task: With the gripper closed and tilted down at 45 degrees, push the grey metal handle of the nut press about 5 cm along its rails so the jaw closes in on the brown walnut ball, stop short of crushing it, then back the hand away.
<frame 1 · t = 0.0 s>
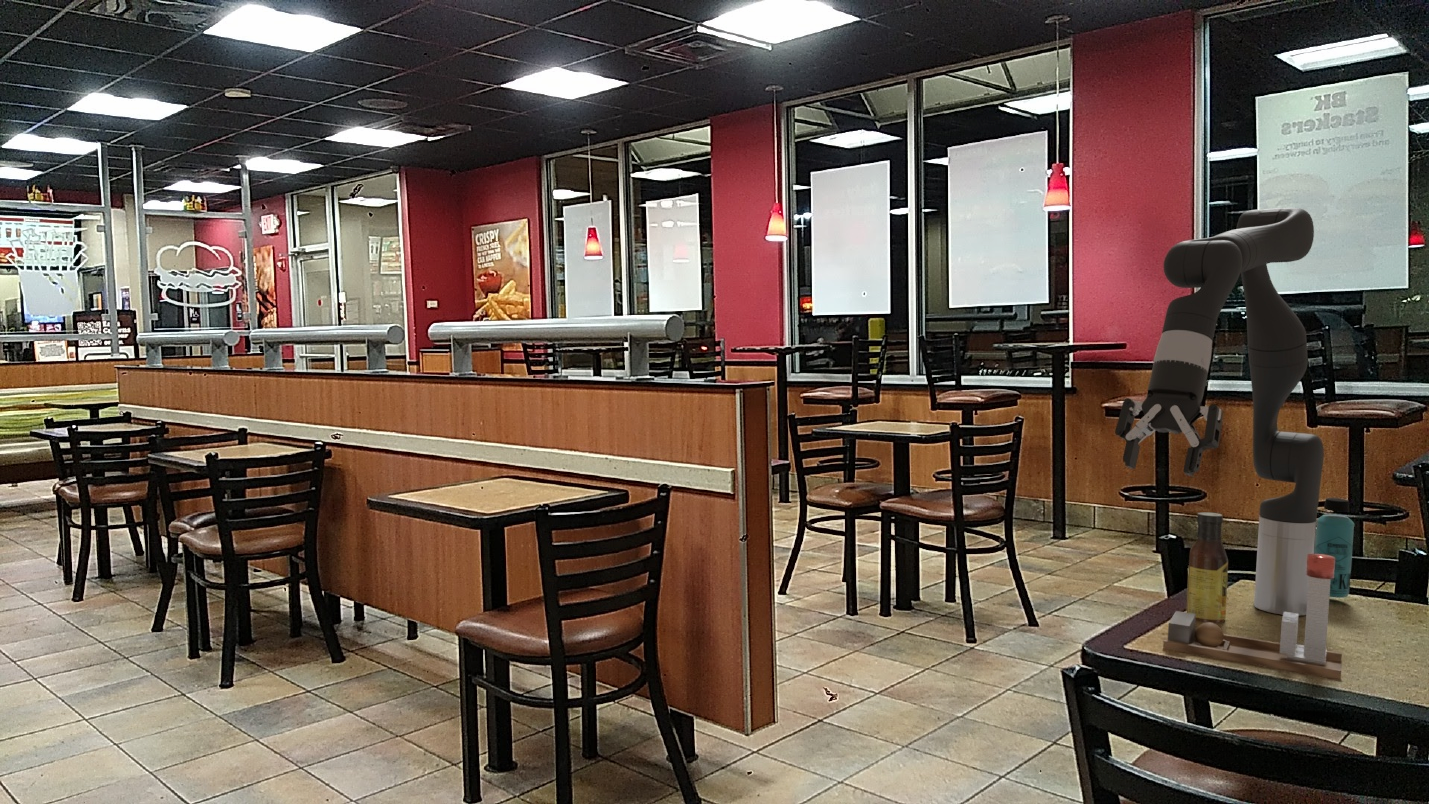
hand: (1158, 470, 147), 31 cm above the table, tool tilted 20°, fingers open, 8 cm apart
sauce bottle: (1204, 626, 178), on the table
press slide: (1307, 608, 153), point 10 cm above the table, slide at 0.0 cm
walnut: (1208, 647, 161), point 1 cm above the table, touching nut press
beverage bottle: (1329, 601, 195), on the table
nut press: (1250, 663, 158), on the table
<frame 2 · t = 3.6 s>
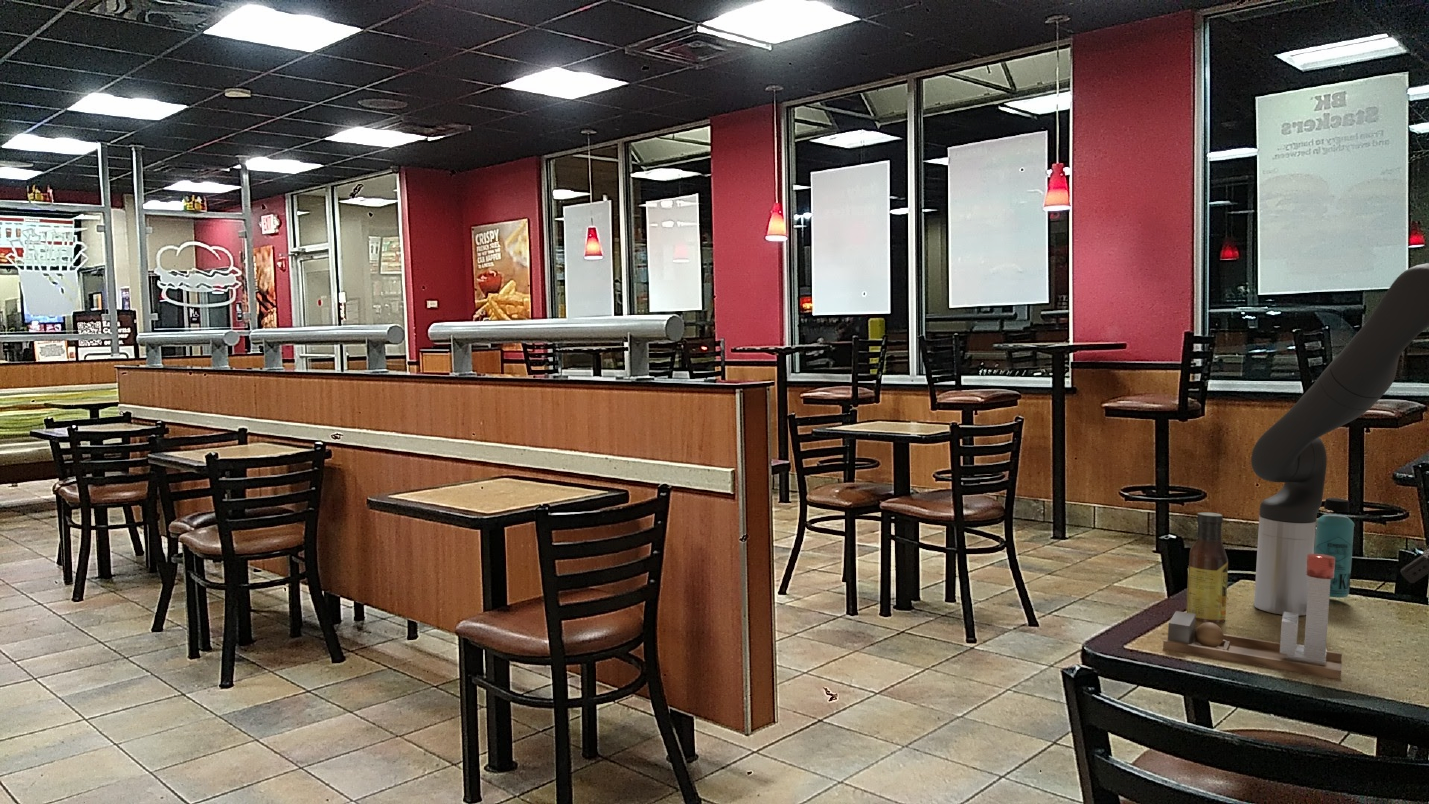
hand: (1405, 577, 146), 17 cm above the table, tool tilted 45°, fingers closed
nothing on the table moved.
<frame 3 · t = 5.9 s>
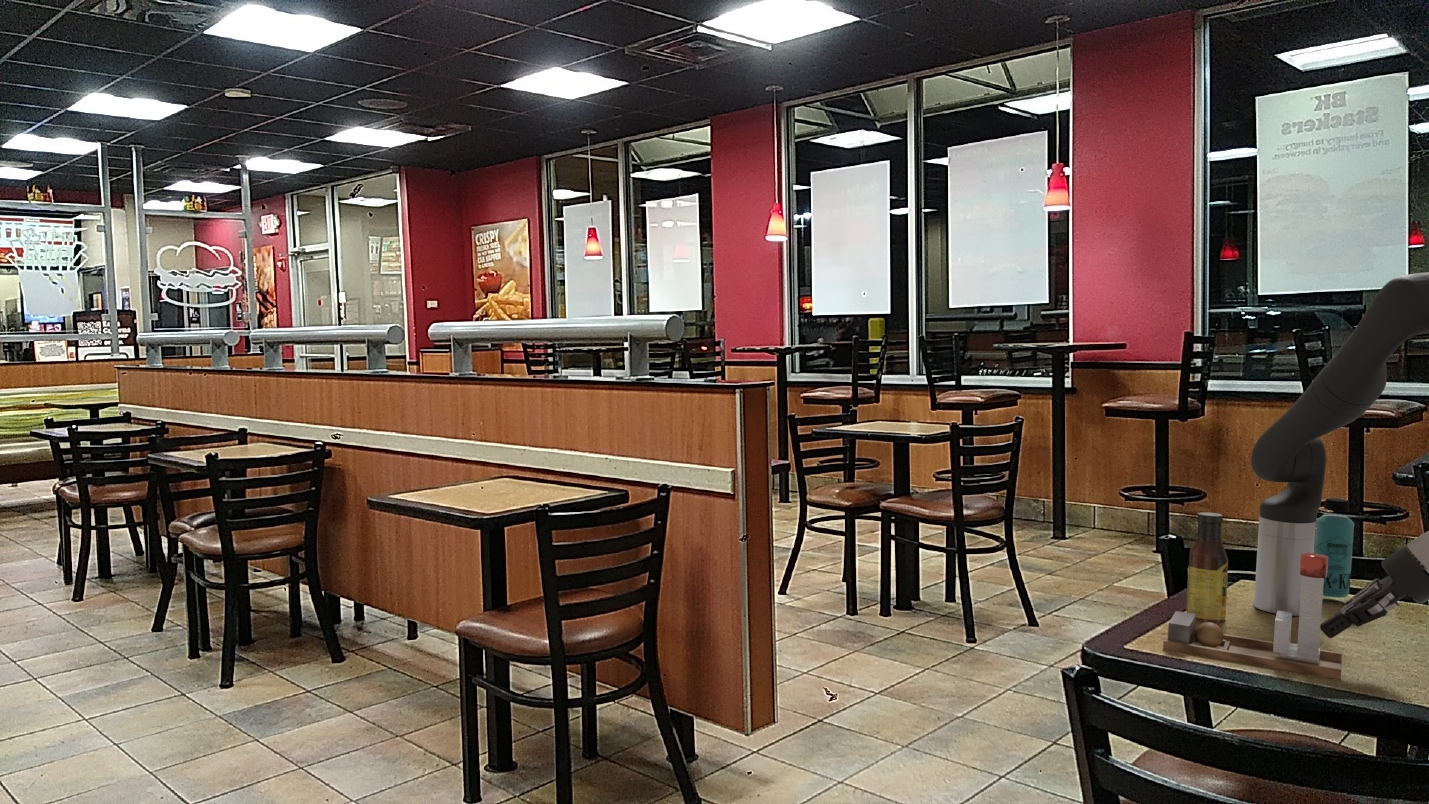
hand: (1324, 632, 152), 7 cm above the table, tool tilted 45°, fingers closed
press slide: (1300, 607, 154), point 10 cm above the table, slide at 0.9 cm, touching gripper
everything else where it was.
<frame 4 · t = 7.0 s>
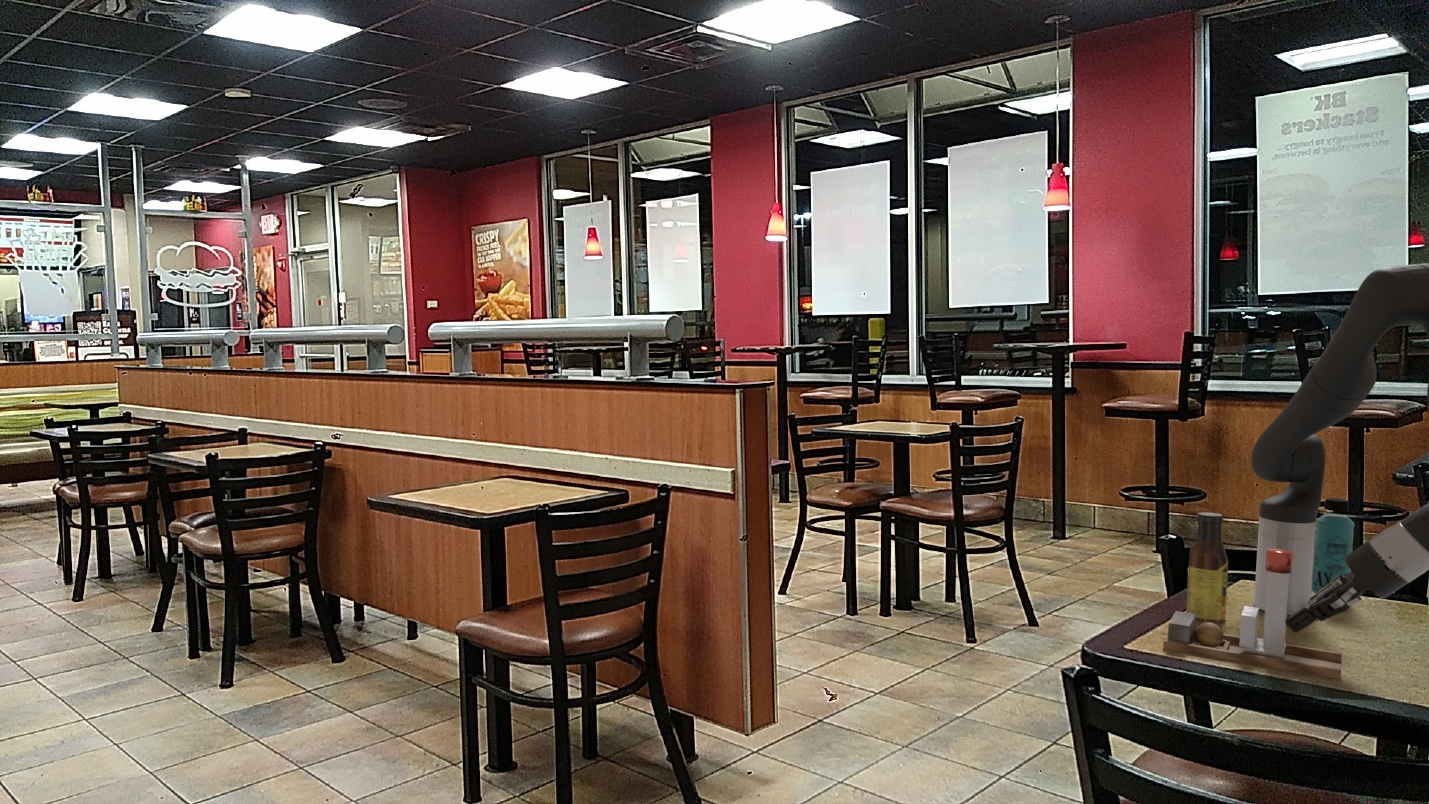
hand: (1289, 626, 155), 7 cm above the table, tool tilted 45°, fingers closed
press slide: (1266, 602, 156), point 10 cm above the table, slide at 5.5 cm, touching gripper
everything else where it was.
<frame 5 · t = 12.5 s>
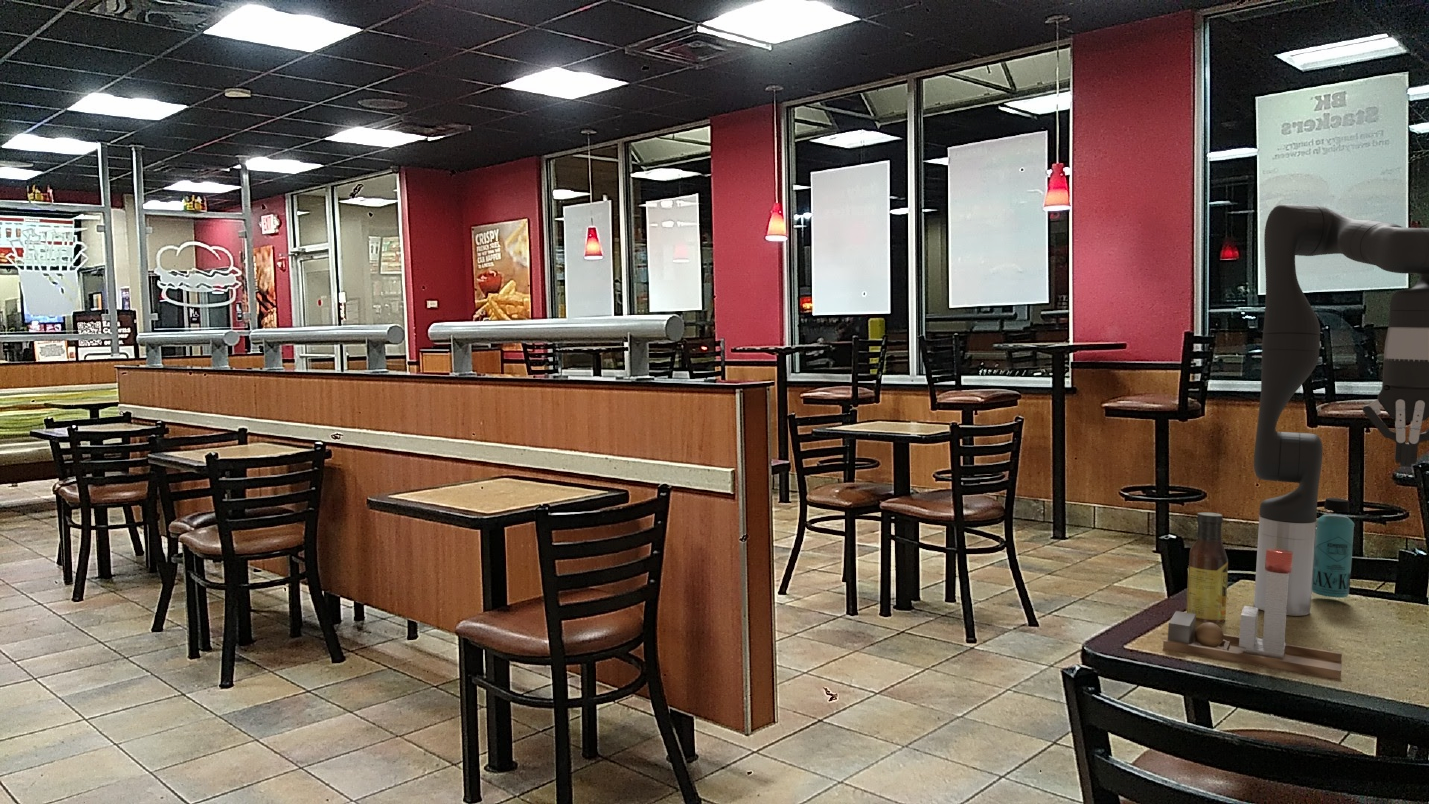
hand: (1404, 466, 159), 31 cm above the table, tool pointing down, fingers closed
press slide: (1266, 602, 156), point 10 cm above the table, slide at 5.5 cm
everything else where it was.
at the end: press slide slide at 5.5 cm; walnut moved 0.0 cm from its start; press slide touching nothing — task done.
